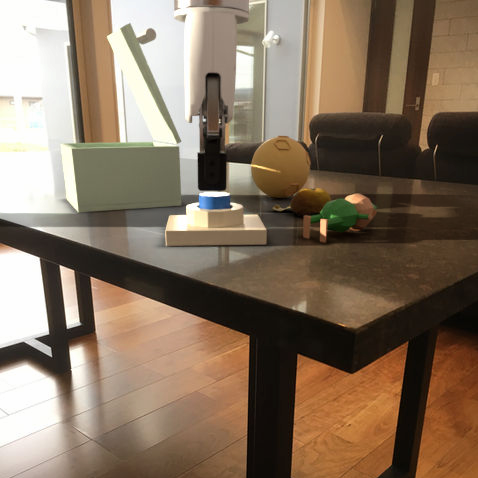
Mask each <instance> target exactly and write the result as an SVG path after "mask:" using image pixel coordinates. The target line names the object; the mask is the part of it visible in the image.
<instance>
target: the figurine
mask: <svg viewBox="0 0 478 478" xmlns="http://www.w3.org/2000/svg"><path fill="white" fill-rule="evenodd" d="M377 209H378V207H377V206H376V205H375V204H374V203H373V202H372V201H371V199H370V198H369V197H367V196H365V195H363V194H361V193H354V194H350V195H346V197H345V198H337V199H333V200H331V201H329V202H327V203H326V204H325V205H324V207H323V209H322V210H321V212H320V213H317V214H314V215H312V216H306V215H305V216H304V217H303V224H302V225H303V227H302V228H303V229H302V234H303V235H302V237H303V239H308V240H309V239H310V233H311V225H312V224H317V223H320V224H319V225H320V227H319V230H320V231H319V242H320V243H325V244H326V243H327V236H328V235H327V234H328V231H331V232H337V233H344V232H345V233H346V232H347V231H348V230H351V231H354V232H359V231H362V230H363V229H364V228H366V227H367V226H368V225H369V223H370V222H371V221H372V220H373V218H374V217H375V216H376V214H377Z"/></svg>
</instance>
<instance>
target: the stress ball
mask: <svg viewBox="0 0 478 478" xmlns="http://www.w3.org/2000/svg"><path fill="white" fill-rule="evenodd" d="M311 161H312V160H311V157H310V154H309V152H308V151H307V150H306V149H305V148H304V146H303V145H302V144H301V142H298V141H297V140H295V139H293V138H291V137H290V136H288V135H277V136H276V137H272V138H270V139H267V140H265V141H263V142H262V143H261V144H260V145H259V147H257V149H256V150H255V152H254V154H253V156H252V159H251V163H250V172H251V177H252V180H253V183H254V184H255V186H256V187H257V188H258V190H259V191H261V192H262V193H263V194H265V195H266V196H269V197H271V198H275V199H284V198H289V197H292V196H295V195H296V194H297V193H298V192H299V191H300V190H302V189H303V187H304V186H305V184H306V183H307V181H308V179H309V176H310V172H311V165H312V162H311Z"/></svg>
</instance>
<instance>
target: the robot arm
mask: <svg viewBox="0 0 478 478" xmlns="http://www.w3.org/2000/svg"><path fill="white" fill-rule="evenodd" d="M173 8H174V9H173V11H174V14H173V16H174V20H175V21H178V22H181V23H184V38H183V41H184V44H183V48H184V49H183V62H184V63H183V67H184V69H183V70H184V71H183V72H184V112H185V113H184V115H185V121H186V122H187V123H189V124H192V123H193V117H198V129H199V130H198V131H199V135H198V136H199V152H197V155H196V156H197V157H196V158H197V189H198V190H199V191H201V192H226V190H227V179H228V178H227V175H228V173H227V170H228V168H227V167H228V166H227V160H228V154H227V152H226V127H227V126H226V125H227V124H229V123H230V122H231V121H233V119H234V118H233V117H234V109H235V108H234V107H235V96H236V79H237V46H238V44H237V43H238V25H240V24H245V23H248V22H249V19H250V18H249V17H250V16H249V15H250V14H249V13H250V0H173ZM204 120H205V121H204Z"/></svg>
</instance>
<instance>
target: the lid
mask: <svg viewBox="0 0 478 478" xmlns="http://www.w3.org/2000/svg"><path fill="white" fill-rule="evenodd" d="M106 38H107V41H108V42H109V45H110V47H111V49H112V51H113V54H114V56H115V58H116V60H117V62H118V65H119V67H120V69H121V72H122V73H123V76H124V78H125V80H126V82H127V84H128V87H129V88H130V90H131V93H132V95H133V97H134V99H135V102H136V104H137V106H138V108H139V111H140V113H141V115H142V117H143V119H144V121H145V123H146V126H147V128H148V130H149V133H150V135H151V137H152V139H153V140H154V141H157V142H162V143H168V144H174V145H178V144H180V143H182V139H181V137H180V135H179V132H178V130H177V128H176V126H175V123H174V121H173V118H172V115H171V114H170V112H169V110H168V107H167V104H166V102H165V100H164V98H163V96H162V93H161V91H160V88H159V86H158V84H157V81H156V79H155V77H154V74H153V72H152V70H151V67H150V66H149V63H148V60H147V59H146V56H145V53H144V51H143V49H142V46H141V45H146V44H149V43H150V42H154V41H155V40H156V38H157V32H156V30H155V29H154V28H152V27H149V28H147V29H144V30H143V31H140V32H139V33H138V34H137V35H136V32H135V30H134V28H133V25H132V23H131V22H129V23H127V24H124V25H123V26H121V27H120V28H118V29H117V30H115V31H113V32H112V33H110V34H109V35H107V36H106Z"/></svg>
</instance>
